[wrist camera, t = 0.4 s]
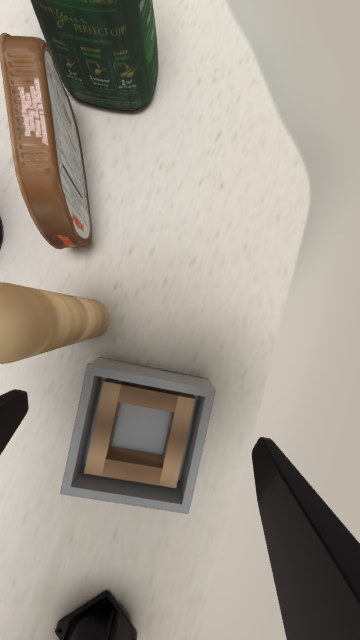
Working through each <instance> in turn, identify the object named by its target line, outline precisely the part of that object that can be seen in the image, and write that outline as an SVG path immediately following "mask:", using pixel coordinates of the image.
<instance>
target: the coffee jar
mask: <svg viewBox="0 0 360 640" xmlns="http://www.w3.org/2000/svg"><path fill="white" fill-rule="evenodd" d="M31 3H32V5H33V8H34V11H35V14H36V16H37V19H38V22H39V24H40V27H41V30H42V32H43V35H44V38H45V40H46V43H47V45H48V46H49V48H50V50H51V53H52V57H53V61H54V63H55V66H56V68H57V71H58V73H59V75H60V78H61V80H62V82H63V84H64V86H65V88H66V89H67V90H68V91H69V92H70V93H71V94H72V95H73V96H74V97H76V98H78V99H79V100H82V101H84V102H87V103H90V104H94V105H97V106H101V107H107V108H113V109H120V110H136V109H139V108H141V107H142V106H144V105H145V104H146V103H147V102H148V101H149V100H150V98H151V96H152V94H153V92H154V88H155V84H156V79H157V72H158V50H157V38H156V28H155V19H154V11H153V3H152V0H31Z"/></svg>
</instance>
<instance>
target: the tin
mask: <svg viewBox="0 0 360 640" xmlns="http://www.w3.org/2000/svg"><path fill="white" fill-rule="evenodd" d="M0 62H1V69H2V76H3V84H4V92H5V99H6V106H7V113H8V121H9V128H10V137H11V143H12V151H13V160H14V166H15V171H16V176H17V180H18V183H19V186H20V190H21V193H22V196H23V198H24V201H25V203H26V206H27V208H28V211H29V213H30V215H31V217H32V219H33V221H34V223H35V225H36V226H37V228H38V230H39V231H40V233H41V234H42V236H43V237H44V238H45V239H46V241H47V242H48V243H49V244H50V245H52V246H53V247H54V248H56V249H63V248H67V247H79V246H84V245H86V244H88V243H89V241H90V237H91V222H90V213H89V204H88V196H87V187H86V179H85V172H84V165H83V157H82V150H81V145H80V139H79V134H78V130H77V125H76V121H75V117H74V113H73V110H72V106H71V103H70V100H69V97H68V95H67V93H66V91H65V89H64V86H63V84H62V81H61V79H60V76H59V73H58V71H57V68H56V66H55V63H54V61H53V57H52V53H51V50H50V48H49V46H48V45H47V43H46V42H45V41H44V40H42V39H40V38H37V37H25V36H10V35H9V34H7V33H2V34H1V35H0Z"/></svg>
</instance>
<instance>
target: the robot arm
mask: <svg viewBox="0 0 360 640" xmlns="http://www.w3.org/2000/svg"><path fill="white" fill-rule="evenodd" d="M27 411H28V395H27V392H26V391H22V390H16V389H15V390H11V391H9V392H7V393H5V394H3V395H1V396H0V455H1V453H2V452H3V450H4V449H5V447H6V445H7V444H8V442H9V441H10V439H11V437H12V436H13V434H14V433H15V431H16V429H17V428H18V426H19V425H20V423H21V422H22V420H23V418H24V417H25V415H26V414H27ZM252 461H253V470H254V477H255V486H256V494H257V501H258V506H259V511H260V516H261V521H262V525H263V530H264V535H265V539H266V544H267V549H268V554H269V558H270V563H271V568H272V572H273V577H274V582H275V586H276V591H277V596H278V600H279V605H280V610H281V614H282V619H283V624H284V629H285V633H286V638H287V640H360V543H359V542H358V541H357V540H356V538H355V537H354V536H353V535H352V534H351V533H350V531H349V530H348V529H347V528H346V527H345V525H344V524H343V523H342V522H341V521H340V520H339V519H338V517H337V516H336V515H335V514H334V513H333V511H332V510H331V509H330V508H329V507H328V505H327V504H326V503H325V502H324V501H323V499H322V498H321V497H320V496H319V495H318V494H317V492H316V491H315V490H314V489H313V488H312V486H310V484H309V483H308V482H307V481H306V480H305V478H304V477H303V476H302V475H301V474H300V472H299V471H298V470H297V469H296V468H295V466H294V465H293V464H292V463H291V462H290V461H289V459H288V458H287V457H286V456H285V455H284V453H283V452H282V451H281V450H280V449H279V447H278V446H277V445H276V444H275V443H274V442H273V441H272V440H271V439H270V438H265V437H260V438H259V439H258V441H257V443H256V445H255V446H254V448H253V450H252ZM55 633H56V635H57V636H58V638H59V639H60V640H137V634H136V632H135V631H134V629H133V628H132V626H131V625H130V623H129V622H128V620H127V619H126V617H125V616H124V614H123V613H122V611H121V610H120V608H119V607H118V605H117V604H116V602H115V601H114V599H113V598H112V596H111V595H110V593H108V592H105V593H103V594H101V595H100V596H98V597H96V598H95V599H93V600H92V601H90V602H89V603H87V604H86V605H84V606H83V607H81V608H79V609H78V610H76V611H75V612H73V613H72V614H70V615H69V616H67V617H65V618H64V619H62V620H61V621H59V622H58V623H57V626H56V629H55Z"/></svg>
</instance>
